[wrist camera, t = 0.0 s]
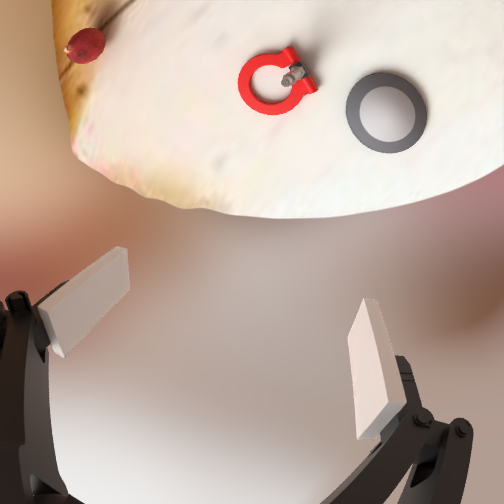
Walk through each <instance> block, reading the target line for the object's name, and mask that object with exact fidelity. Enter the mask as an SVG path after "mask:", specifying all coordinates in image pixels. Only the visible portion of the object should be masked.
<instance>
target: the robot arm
mask: <svg viewBox="0 0 504 504" xmlns="http://www.w3.org/2000/svg"><path fill="white" fill-rule="evenodd" d="M129 290H130V279H129V269H128V256H127V249H126V248H122V247H118V246H116V247H115V248H113V249H112V250H110V251H109V252H108V253H106V254H105V255H103V256H102V257H101V258H99V259H98V260H96V261H95V262H94V263H92V264H91V265H90V266H88V267H87V268H85V269H84V270H83V271H81V272H80V273H79V274H78V275H76V276H75V277H74V278H72V279H71V280H68V281H66V282H63V283H61V284H59V285H58V286H57V287H56V288H54V290H52V291H51V292H49V294H47V295H46V296H44V297H43V298H42V299H40V300H39V301H38V302H37V303H36V304H34V305H33V306H31V303H30V300H29V297H28V294H27V293H26V292H25V291H15V292H13V293H11V294H9V295H8V296H7V297H6V299H5V301H6V304H7V307H8V310H9V311H8V310H5V308H4V305H3V303H2V302H1V301H0V504H84V503H83V502H81V501H79V500H78V499H76V498H74V497H73V496H71V495H70V494H68V491H67V488H66V486H65V483H64V482H63V480H62V478H61V477H60V474H59V471H58V467H57V462H56V456H55V450H54V443H53V437H52V428H51V419H50V406H49V381H48V364H49V363H48V362H49V352H48V348H47V347H48V345H50V343H51V345H52V348H53V350H54V352H55V353H57V354H58V355H60V356H62V357H64V358H66V356H67V355H68V354H69V353H70V352H71V351H72V350H73V349H74V347H75V346H76V345H77V344H78V343H79V342H80V341H81V340H82V339H83V338H84V337H85V336H86V335H87V334H88V332H89V331H90V330H91V329H92V328H93V327H94V326H95V325H96V324H97V323H98V322H99V321H100V320H101V319H102V318H103V317H104V316H105V315H106V314H107V312H108V311H109V310H110V309H111V308H112V307H113V306H114V305H115V304H116V303H117V302H118V301H119V300H120V299H121V298H122V297H123V296H124V295H125V294H126V293H127V292H128V291H129ZM348 346H349V354H350V362H351V370H352V381H353V391H354V401H355V402H354V403H355V415H356V431H357V440H374V439H375V438H376V437H377V436H378V435H379V434H380V435H381V442H379V443H378V444H377V445H376V446H375V447H374V448H373V449H372V450H371V451H370V452H371V453H370V454H369V455H368V456H367V457H366V459H365V460H364V461H363V462H362V463H361V464H360V465H359V466H358V467H357V468H356V469H355V471H354V472H353V473H352V474H351V475H350V476H349V477H348V478H347V479H346V480H345V481H344V482H343V483H342V484H341V485H340V486H339V487H338V488H337V489H336V490H335V491H334V492H332V493H331V494H330V495H329V496H328V497H327V498H326V499H325V500H324V501H323V502H321V503H320V504H383V503H384V502H385V501H386V499H387V498H388V497H389V496H390V494H391V493H392V492H393V490H394V489H395V488H396V486H397V485H398V483H399V482H400V481H401V479H402V478H403V477H404V475H405V474H406V472H407V471H408V469H409V468H410V466H411V465H412V463H413V466H412V468H411V471H410V474H409V477H408V479H407V482H406V485H405V487H404V489H403V492H402V494H401V497H400V499H399V501H398V503H397V504H460V503H461V499H462V496H463V491H464V487H465V483H466V478H467V473H468V468H469V462H470V457H471V450H472V442H473V428H472V426H471V424H470V423H469V422H468V421H467V420H466V419H464V418H456V419H454V420H453V421H452V422H451V423H450V424H446V423H443V422H439V421H436V420H434V417H433V415H432V414H431V412H430V411H429V410H427V409H425V408H423V407H422V404H421V400H420V397H419V393H418V389H417V386H416V383H415V382H414V381H415V379H414V376H413V375H412V374H413V373H412V369H411V366H410V364H409V363H408V361H407V360H406V359H405V357H404V356H395V355H394V351H393V348H392V345H391V341H390V338H389V335H388V332H387V329H386V325H385V322H384V319H383V317H382V314H381V311H380V308H379V305H378V302H377V300H374V299H369V298H363V301H362V303H361V306H360V308H359V311H358V314H357V316H356V319H355V321H354V323H353V326H352V328H351V331H350V333H349V335H348ZM33 495H34V496H33Z"/></svg>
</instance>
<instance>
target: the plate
mask: <svg viewBox="0 0 504 504" xmlns="http://www.w3.org/2000/svg"><path fill="white" fill-rule="evenodd" d="M346 116H347V120H348V123H349V126H350V128H351V130H352V132H353V134H354V135H355V136H356V138H357V139H358V140H359V141H360V142H361V143H362V144H364V145H365V146H367V147H368V148H370V149H372V150H375V151H377V152H382V153H397V152H401V151H404V150H406V149H408V148H410V147H411V146H413V145H414V144H415V143H416V142H417V141H418V140H419V138H420V137H421V135H422V134H423V132H424V129H425V126H426V119H427V113H426V107H425V104H424V101H423V99H422V97H421V95H420V93H419V92H418V91H417V89H416V88H415V87H414V86H413V85H412V84H410V83H409V82H408V81H406V80H405V79H403V78H401V77H398V76H396V75H393V74H387V73H377V74H372V75H369V76H367V77H364V78H363V79H361V80H360V81H359V82H358V83H356V84H355V86H354V87H353V88H352V90H351V91H350V93H349V96H348V98H347V102H346Z"/></svg>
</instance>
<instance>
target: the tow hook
mask: <svg viewBox="0 0 504 504" xmlns="http://www.w3.org/2000/svg"><path fill="white" fill-rule="evenodd" d="M264 65H275V66H278V67H280V68H285V67H287V66H289V65H291V66H289V69H290V72H288V73H287V74H286V75H284V76H283V80H282V81H281V84H282V85H283V86H284V87H288V86H291V85H292V90H291V93H290V95H289V97H288V98H286V99H285V100H284V101H282V102H279V103H266V102H263V101H261V100H260V99H258V98H257V97H256V96H255V95H254V93H253V92H252V89H251V84H250V81H251V77H252V75H253V73H254V72H255V71H256V70H257V69H258V68H260V67H261V66H264ZM238 89H239V92H240V95H241V97H242V99H243V100H244V101H245V103H246V104H247V105H248V106H249V107H251V108H252V109H253V110H255V111H257V112H259V113H262V114H267V115H279V114H283V113H286V112H288V111H290V110H292V109H293V108H294V107H295V106H296V105H297V104H298V103H299V101H300V100H301V98H302V96H303V95H306V94H312V93H314V92H316V91H318V88H317V87H316V85H315V83H314V81H313V80H312V78H311V76H310V73H309V71H308V70H307V68H306V67H305V65H304V63H303V62H302V61H301V60H300V58H299V57H298V55H297V54H296V52H295V51H294V49H293V47H292V46H290V47H287V48H285V49H283V50H282V53H280V54H278V55H277V54H263V55H260V56H256V57H254V58H253V59H251V60H249V61H248V62H247V63H246V64H245V65H244V66H243V67H242V69H241V71H240V74H239V78H238Z"/></svg>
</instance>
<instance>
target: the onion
mask: <svg viewBox="0 0 504 504" xmlns="http://www.w3.org/2000/svg"><path fill="white" fill-rule="evenodd" d="M104 47H105V38H104V35H103V34H102V32H101V31H100V30H98V29H96V28H85V29H82V30H80V31H79V32H77V33H76V34H75V35H73V37H72V38H71V39H70V41H69V42H68V45H67V46H66V47H65V48H64V51H65V52H66V53H67V56H68V58H69V59H70V60H71V61H73V62H75V63H78V64H85V63H89V62H91V61H93V60H95V59H97V58H98V57H99V55H100V54H101V53H102V52H103V50H104Z"/></svg>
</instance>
